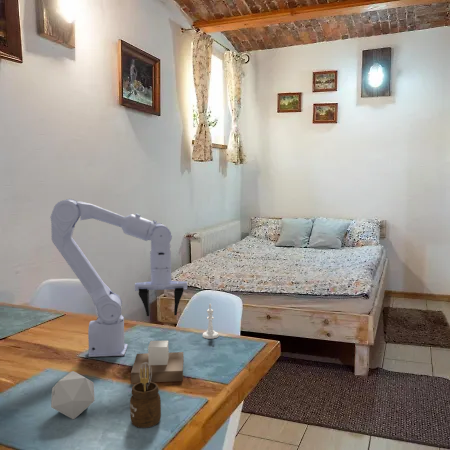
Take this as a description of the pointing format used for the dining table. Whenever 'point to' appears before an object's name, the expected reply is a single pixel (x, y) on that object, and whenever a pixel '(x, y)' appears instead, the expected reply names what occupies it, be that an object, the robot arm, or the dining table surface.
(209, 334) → the chess piece
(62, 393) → the die
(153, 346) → the white cube
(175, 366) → the walnut block
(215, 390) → the dining table surface
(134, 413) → the utensil holder
